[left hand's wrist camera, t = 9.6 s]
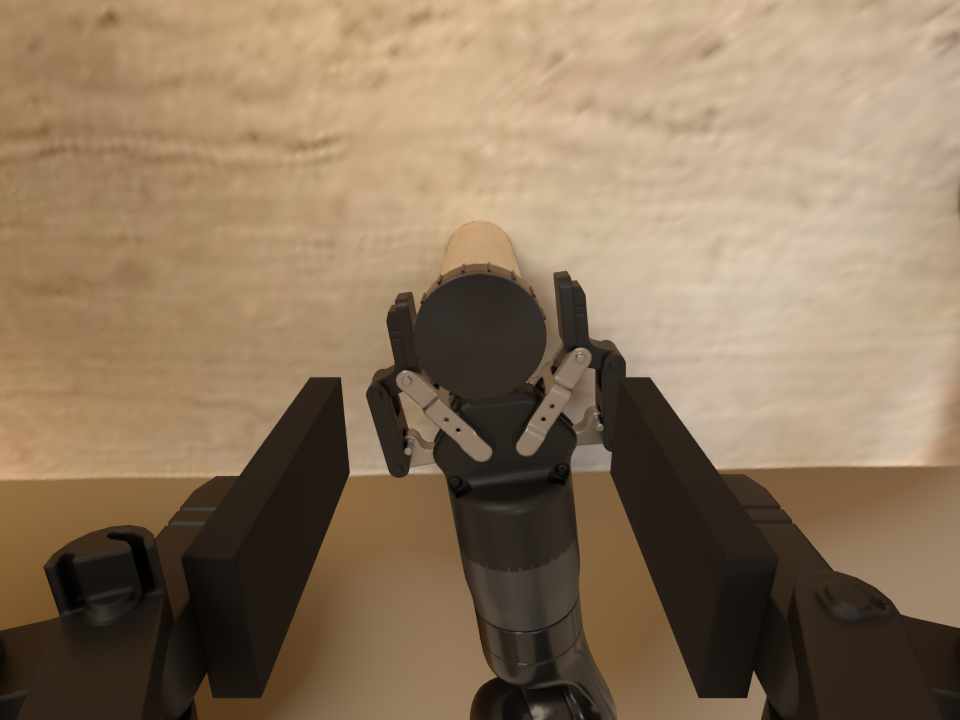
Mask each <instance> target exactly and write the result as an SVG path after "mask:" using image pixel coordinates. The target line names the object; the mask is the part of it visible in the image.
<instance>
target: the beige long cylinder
mask: <svg viewBox="0 0 960 720" xmlns="http://www.w3.org/2000/svg"><path fill="white" fill-rule="evenodd" d="M488 262H491V265H496V266H499V267H502V268H505V269H507V270H509V271H512V270H513V271H515V274H516V275H517V276H519V277H520V278H521V279H522V276H521V273H520V270H519V267H518V263H517V260H516V257H515V254H514V250H513V247H512V244H511V241H510V239H509V237H508V236H507V234H506V233H505V232H504V231H503V230H502V229H501V228H500V227H498V226H497V225H495V224H493V223H490V222H486V221H474V222H470V223H467V224H465V225H463V226H462V227H460V228H459V229H458V230H457V231H456V232H455V233H454V234H453V236H452V237H451V239H450V241H449V244H448V247H447V250H446V254H445V257H444V260H443V263H442V267H441V270H440V273H439V275H441V274H442V275H444V274H446V273H447V272H449V271H451V270H453V269H455V268H458V267H461V266H462V264H464V263H465V265H469V264H488ZM438 278H439V276H438Z"/></svg>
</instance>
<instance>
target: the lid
mask: <svg viewBox="0 0 960 720" xmlns="http://www.w3.org/2000/svg"><path fill="white" fill-rule="evenodd" d="M420 303H421V306H420V309H419V312H418V315H416V318H415V321H414V324H413V327H414V345H415V351H416V354H417V357H418V359H419V361H420V364H421V366H422V367H423V369H424V370H425V372H426V373H427V374H428V375H429V377H430V378H431V379H432V380H433V381H435V382H436V383H437V384H438V385H439V386H441V387H442V388H444V389H446V390H447V391H449V392H451V393H454V394H456V395H459V396H463V397H467V398H474V399H485V398H493V397H497V396H501V395H504V394H506V393H509V392H511V391H513V390H515V389H516V388H518V387H519V386H521V385H522V384H523V383H524V382H525V381H527V380H528V379H529V378H530V376H531V375H532V374H533V373H534V372H535V370H536V369H537V367H538V365H539V363H540V361H541V359H542V357H543V354H544V351H545V345H546V326H545V321H544V320H546V317H545V315H544V312H543V309H540V306H539V304H538V301H537V299H536V296H535V293H534V290H533V288H532V286H531V287H529V286H528V285H527V284H526V283H525V282H524V281H523V280H522V279H521V278H520V277H519V276H517V275H516V274H515V271H513V270H512V271H509V270H507V269H505V268H502V267H499V266H496V265H491V262H488V264H469V265H465V263H464V264H462V266H461V267H458V268H455V269H453V270H451V271H449V272H447V273H446V274H444V275H442V274H441V275H439V278H438V280H437V281H436V282H435V283H434V284H433V285H432V286H431V287H430V289H429V290H428V291H427V293H425V292H424V294H423V296H422V299H421V302H420Z"/></svg>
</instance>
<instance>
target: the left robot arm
mask: <svg viewBox="0 0 960 720" xmlns="http://www.w3.org/2000/svg"><path fill="white" fill-rule="evenodd" d="M349 473H350V470H349V459H348V449H347V438H346V427H345V417H344V406H343V395H342V385H341V377H310V378H309V380H308V381H307V383H306V384H305V385H304V387H303V388H302V390H301V391H300V392H299V394H298V395H297V396H296V398H295V399H294V401H293V402H292V403H291V405H290V406H289V408H288V409H287V410H286V412H285V413H284V415H283V416H282V417H281V419H280V420H279V421H278V423H277V424H276V426H275V427H274V428H273V430H272V431H271V433H270V434H269V435H268V437H267V438H266V440H265V441H264V442H263V444H262V445H261V446H260V448H259V449H258V451H257V452H256V453H255V455H254V456H253V458H252V459H251V460H250V462H249V463H248V465H247V466H246V467H245V469H244V470H243V471H242V473H241V474H240V476H216V477H214V478H213V479H211V480H210V481H208V482H207V483H205V484H204V485H202V486H201V487H199V488H198V489H196V490H195V491H194V492H193V493H192V494H191V495H190V496H189V498H188V499H187V500H186V501H185V503H184V504H183V505H182V506H181V508H180V511H177V512H176V514H175V515H174V516H173V517H172V518H171V520H170V521H169V524H168V526H165V527H164V528H163V530H162V531H161V532H160V533H159V534H158V536H157V537H156V538H155V539H154V535H153V534H152V533H151V532H150V531H148V530H147V529H146V528H144V527H138V526H132V525H125V526H114V527H109V528H105V529H101V530H98V531H94V532H91V533H88V534H86V535H84V536H82V537H80V538H78V539H76V540H74V541H71V542H70V543H68V544H67V545H65V546H64V547H63V548H61V549H60V550H58V551H57V552H56V553H54V554H53V555H52V557H51V558H50V559H49V560H48V562H47V563H46V564H45V565H44V570H45V573H46V576H47V579H48V582H49V585H50V588H51V591H52V594H53V597H54V600H55V603H56V606H57V609H58V612H59V617H57V618H54V619H50V620H46V621H42V622H37V623H33V624H28V625H24V626H20V627H15V628H11V629H6V630H2V631H0V720H198V717H197V711H196V705H195V702H194V696H195V694H196V692H197V690H198V688H199V686H200V684H201V682H202V680H203V679H204V677H205V675H206V673H207V674H208V679H209V683H210V687H211V692H212V696H213V698H261V697H262V694H263V692H264V689H265V687H266V684H267V682H268V679H269V677H270V674H271V672H272V669H273V666H274V664H275V661H276V659H277V656H278V654H279V651H280V649H281V646H282V644H283V641H284V639H285V636H286V634H287V631H288V628H289V626H290V623H291V621H292V618H293V616H294V613H295V611H296V608H297V605H298V603H299V600H300V598H301V595H302V593H303V590H304V588H305V585H306V583H307V580H308V578H309V575H310V572H311V570H312V567H313V565H314V562H315V560H316V557H317V555H318V552H319V549H320V547H321V544H322V542H323V539H324V537H325V534H326V532H327V529H328V527H329V524H330V522H331V519H332V517H333V514H334V511H335V509H336V506H337V504H338V501H339V499H340V496H341V494H342V491H343V489H344V486H345V483H346V481H347V478H348V476H349ZM610 473H611V476H612V478H613V481H614V483H615V486H616V489H617V491H618V494H619V496H620V499H621V501H622V504H623V506H624V509H625V511H626V514H627V517H628V519H629V522H630V524H631V527H632V529H633V532H634V534H635V537H636V539H637V542H638V544H639V547H640V550H641V552H642V555H643V557H644V560H645V562H646V565H647V567H648V570H649V572H650V575H651V578H652V580H653V583H654V585H655V588H656V590H657V593H658V595H659V598H660V600H661V603H662V606H663V608H664V611H665V613H666V616H667V618H668V621H669V623H670V626H671V628H672V631H673V634H674V636H675V639H676V641H677V644H678V646H679V649H680V651H681V654H682V656H683V659H684V661H685V664H686V667H687V669H688V671H689V674H690V677H691V679H692V682H693V684H694V687H695V689H696V692H697V695H698V697H699V698H747V696H748V692H749V687H750V683H751V678H752V674H753V670H754V672H755V674H756V676H757V678H758V680H759V681H760V683H761V685H762V687H763V689H764V691H765V693H766V695H767V697H766V701H765V705H764V710H763V714H762V718H761V720H960V628H956V627H952V626H947V625H943V624H938V623H933V622H929V621H925V620H920V619H916V618H912V617H908V616H905V615H901V614H900V613H899V611H898V610H897V608H896V607H895V605H894V604H893V602H892V601H891V600H890V599H889V598H887V597H886V596H885V595H884V594H883V593H881V592H880V591H879V590H878V589H877V588H875V587H873V586H871V585H869V584H868V583H866V582H864V581H862V580H860V579H858V578H856V577H853V576H850V575H847V574H843V573H840V572H837V571H833V569H832V568H831V567H830V566H829V565H828V563H827V562H826V561H825V560H824V559H823V557H822V556H821V555H820V554H819V552H818V551H817V550H816V549H815V548H814V546H813V545H812V544H811V543H810V542H809V540H808V539H807V538H806V537H805V535H804V534H803V533H802V532H801V531H800V529H799V528H798V527H797V526H796V524H792V520H791V518H790V517H789V516H788V515H787V514H786V512H785V511H784V510H783V509H780V505H779V504H778V503H777V501H776V500H775V499H774V498H773V497H772V495H771V494H770V493H769V492H768V491H767V489H766V488H764V487H762V486H761V485H759V484H758V483H756V482H755V481H753V480H752V479H750V478H749V477H747V476H746V475H744V474H719V473H718V471H717V470H716V469H715V467H714V466H713V465H712V463H711V462H710V460H709V459H708V458H707V456H706V455H705V453H704V452H703V451H702V449H701V448H700V446H699V445H698V444H697V442H696V441H695V440H694V438H693V437H692V435H691V434H690V433H689V431H688V430H687V428H686V427H685V426H684V424H683V423H682V421H681V420H680V419H679V417H678V416H677V415H676V413H675V412H674V410H673V409H672V408H671V406H670V405H669V403H668V402H667V401H666V399H665V398H664V396H663V395H662V394H661V392H660V391H659V390H658V388H657V387H656V385H655V384H654V383H653V381H652V380H651V378H650V377H619V385H618V395H617V406H616V417H615V427H614V438H613V449H612V459H611V470H610Z"/></svg>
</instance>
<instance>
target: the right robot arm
mask: <svg viewBox="0 0 960 720" xmlns="http://www.w3.org/2000/svg"><path fill="white" fill-rule="evenodd" d="M554 285H555V296H556V306H557V316H558V327H559V335H560V337H561V340H562V344H561V345H560V347H559V348H558V350H557V352H556V353H555V355H554V356H553V358H552V359H551V361H550V362H549V363H546V365H545V366H544V367H543V369H542V370H541V372H540V373H539V375H538V377H537V378H536V380H535V381H534V383H533V384H530V383H526V382H524V383H523V384H522V385H521V386H519V387H518V388H516V389H515V390H513V391H511V392H509V393H506V394H504V395H501V396H497V397H493V398H485V399H474V398H467V397H463V396H459V395H456V394H454V393H451V392H449V391H447V390H446V389H444V388H442V387H441V386H439V385H438V384H437V383H436V382H435V381H433V380H432V379H431V378H430V377H429V375H428V374H427V373H426V372H425V370H424V369H423V367H422V366H421V364H420V361H419V359H418V357H417V354H416V351H415V345H414V327H413V324H414V321H415V318H416V315H417V314H416V309H415V304H414V298H413V294H412V292H406V293H399V294H398V296H397V298H396V300H395V305H392V306H391V308H390V310H389V312H388V316H387V321H386V322H387V327H388V331H389V336H390V341H391V346H392V351H393V356H394V360H395V364H394V365H393V366H391V367H389V368H387V369H381V370H378V371H377V372H376V373H375V374H374V377H373V380H372V383H371V385H370V386H369V388H368V390H367V392H366V397H367V401H368V404H369V407H370V410H371V414H372V417H373V420H374V424H375V427H376V430H377V434H378V437H379V440H380V444H381V447H382V450H383V453H384V457H385V460H386V463H387V467H388V470H389V472H390V474H391V475H392V476H394V477H398V478H401V477H404V476H406V475H407V474H408V472H409V468H410V467H416V466H421V465H427V464H433V463H436V464H437V465H438V466H439V467H440V468H441V470H442V471H443V472H444V474H445V476H446V480H447V485H448V490H449V495H450V501H451V506H452V511H453V516H454V522H455V527H456V532H457V538H458V543H459V548H460V554H461V559H462V564H463V569H464V574H465V578H466V581H467V584H468V587H469V589H470V592H471V595H472V598H473V602H474V607H475V612H476V618H477V622H478V628H479V634H480V639H481V644H482V649H483V652H484V656H485V658H486V661H487V663H488V665H489V667H490V668H491V670H492V671H493V672H494V673H495V675H496V676H497V677H496V678H494V679H492V680H490V681H488V682H487V683H485V684H483V685H482V686H481V687H480V689H479V690H478V691H477V693H476V695H475V697H474V699H473V702H472V706H471V711H470V720H617V713H616V707H615V704H614V701H613V698H612V696H611V693H610V691H609V688H608V686H607V684H606V682H605V680H604V679H603V677H602V675H601V673H600V671H599V669H598V668H597V666H596V664H595V662H594V660H593V658H592V655H591V652H590V650H589V647H588V644H587V641H586V638H585V634H584V631H583V626H582V615H581V606H580V596H579V570H580V558H579V546H578V537H577V525H576V515H575V505H574V495H573V484H572V474H571V463H570V462H571V456H572V453H573V451H574V449H575V447H576V446H578V445H592V444H603V445H604V447H605V448H606V449H607V450H608V451H610V452H612V449H613V438H614V427H615V417H616V406H617V395H618V385H619V377H626V362H625V360H624V358H623V357H622V355H621V353H620V352H619V350H618V349H617V347H616V346H615V344H614V343H613V342H611V341H609V340H604V341H597V340H593V339H591V338H589V335H588V322H587V309H586V296H585V293H584V291H583V290H582V288H581V286H580V284H579V283H578V281H577V280H575V281H571V277H570V275H569V274H568V272H567V271H562V272H555V273H554ZM587 367H588V368H593V369H595V401H596V406H591V407H589V408H588V409H587V410H586V411H585V414H584V418H583V420H582V421H581V422H580V423H578V424H575V425H573V423H572V422H571V420H570V419H569V418H568V417H567V416H566V415H565V414H564V413H563V412H562V410H563V408H564V407H565V405H566V404H567V402H568V401H569V399H570V398H571V395H572V392H573V388H574V386H575V385H576V383H577V382H578V380H579V379H580V377H581V376H582V374H583V373H584V371H585V370H586V368H587ZM403 391H404V392H405V393H406V394H407V395H408V396H409V397H410V398H412V399H413V400H414V401H415V402H416V403H417V404H419V405H420V406H421V407H422V409H423V411H424V413H425V414H426V416H427V417H428V418H429V419H430V420H432V421H433V422H434V423H435V424H436V425H437V426H439V427H440V430H439V432H438V434H437V435H436V437H435V440H434V442H426V441H425V440H423V439H422V437H421V435H420V433H419V432H418V431H416V430H415V429H408V426H407V422H406V418H405V415H404V411H403V408H402V404H401V401H400V397H399V393H401V392H403Z"/></svg>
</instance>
